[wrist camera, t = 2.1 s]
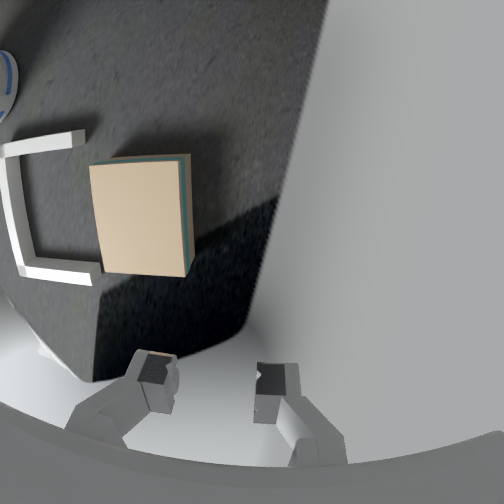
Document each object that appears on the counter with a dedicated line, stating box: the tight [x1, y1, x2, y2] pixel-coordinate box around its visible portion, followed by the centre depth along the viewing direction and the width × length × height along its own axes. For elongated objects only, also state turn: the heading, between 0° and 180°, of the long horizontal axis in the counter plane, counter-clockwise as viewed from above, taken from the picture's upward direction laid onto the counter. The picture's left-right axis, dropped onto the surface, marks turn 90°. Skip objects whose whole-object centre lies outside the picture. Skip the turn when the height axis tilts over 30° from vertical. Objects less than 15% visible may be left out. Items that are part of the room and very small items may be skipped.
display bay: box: [0, 129, 102, 286], centre depth 28 cm, size 16×12×2 cm
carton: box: [89, 154, 195, 277], centre depth 27 cm, size 10×8×4 cm
